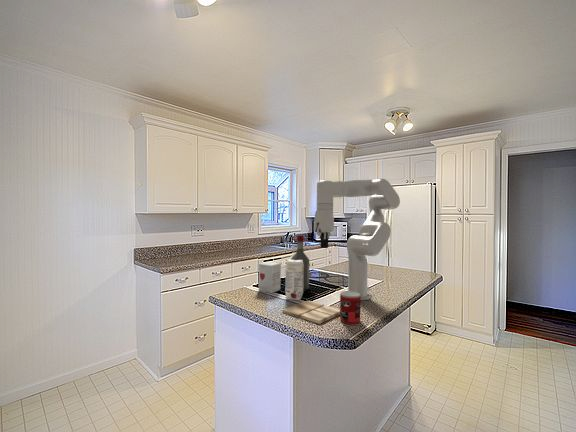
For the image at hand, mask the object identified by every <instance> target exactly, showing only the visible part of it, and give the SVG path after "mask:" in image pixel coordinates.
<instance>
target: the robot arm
mask: <svg viewBox="0 0 576 432" xmlns="http://www.w3.org/2000/svg"><path fill="white" fill-rule="evenodd" d="M344 197H345V198H346V197H347V198H356V197H357V198H359V197H369V199H368V208H369V214H368V216H367V218H366V219H365V221H364V222H363V223H362V225H361V226H360V229H359V232H358V234H356V235H355V234H354V235H351V236H350V237H349V238H348V239H347V242H346V248H347V249H346V251H347V256H348V266H347V267H348V271H347V272H348V274H347V278H348V280H347V283H348V284H347V285H348V286H347V288H348V289H347V291H353V292H358V293H360V294H361V301H367V300H368V301H369V300H370V299H371V294H369V293H368V291H370V290H371V288H370V286H368V272H369V271H368V266H369V264H368V263H369V262H368V259H367V257H366V256H368V257H376V256H378V255H379V254H380V253H381V252H382V250H383V248H384V247H385V246H386V244H387V242H388V241H389V239H390V237H391V234H392V233H391V232H392V231H391V227H390V225H389V224H388V223H387V222H385V216H384V213H383V212H382V210H395V209H397V208H398V207H399V206H400V203H401V200H400V199H401V198H400V196H399V194H398V193H397V191H396V190H395V188H394V187H393V185H392V184H391V183H390V182H389V181H388V180H387V179H386V178H375V179H352V180H351V179H350V180H345V181H342V180H340V181H339V180H338V181H331V180H323V179H322V180H319V181H317V183H316V210H315V212H314V219H313V232H315V233H316V236H319V239H320V248H322V249H328V248H329V239H330V236H331V235H332V234H333V232H334V229H335V218H334V217H335V216H334V198H344Z"/></svg>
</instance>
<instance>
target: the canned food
mask: <svg viewBox="0 0 576 432" xmlns="http://www.w3.org/2000/svg"><path fill="white" fill-rule="evenodd" d="M361 301H362V300H361V294H360V293H358V292H353V291H348V290H346V291H345V290H344V291H341V292H340V295H339V309H340V315H339V319H340V322H342V323H344V324H347V325H357V324H359V323H360V321H361V309H362V308H361V303H362V302H361Z"/></svg>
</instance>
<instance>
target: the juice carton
mask: <svg viewBox="0 0 576 432" xmlns="http://www.w3.org/2000/svg"><path fill="white" fill-rule="evenodd" d="M303 277H304V265H303V260H291V258H290V259H287V260H286V263H285V277H284V278H285V282H284V284H285V285H284V286H285V291H284V293H285V299H286V300H294V301H301V299H302V297H303V294H304V290H303Z"/></svg>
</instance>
